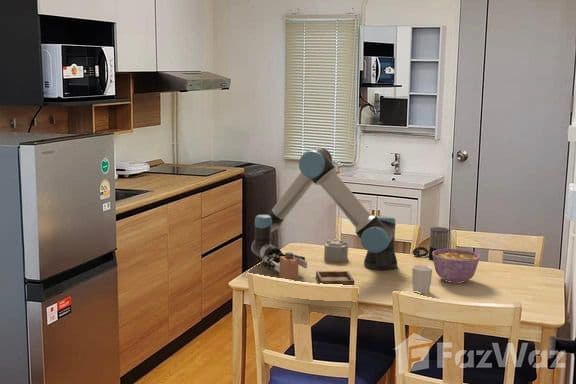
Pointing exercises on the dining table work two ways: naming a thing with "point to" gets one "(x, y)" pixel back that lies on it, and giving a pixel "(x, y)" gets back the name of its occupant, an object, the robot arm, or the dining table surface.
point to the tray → (334, 277)
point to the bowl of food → (455, 264)
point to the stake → (289, 255)
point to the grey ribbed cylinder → (435, 241)
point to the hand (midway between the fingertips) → (292, 266)
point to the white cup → (421, 278)
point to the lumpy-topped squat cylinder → (336, 251)
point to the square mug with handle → (289, 268)
